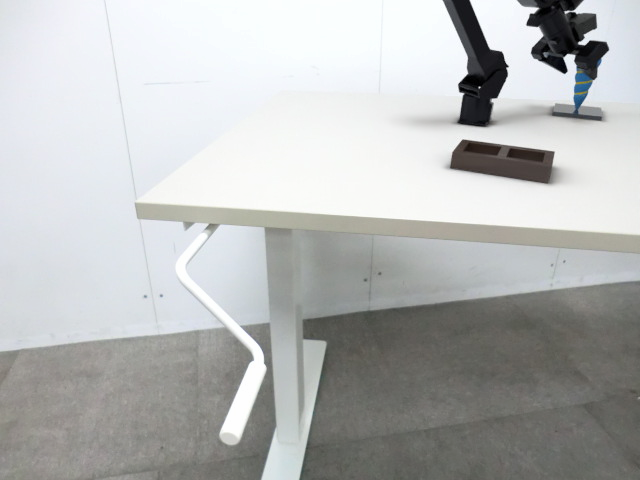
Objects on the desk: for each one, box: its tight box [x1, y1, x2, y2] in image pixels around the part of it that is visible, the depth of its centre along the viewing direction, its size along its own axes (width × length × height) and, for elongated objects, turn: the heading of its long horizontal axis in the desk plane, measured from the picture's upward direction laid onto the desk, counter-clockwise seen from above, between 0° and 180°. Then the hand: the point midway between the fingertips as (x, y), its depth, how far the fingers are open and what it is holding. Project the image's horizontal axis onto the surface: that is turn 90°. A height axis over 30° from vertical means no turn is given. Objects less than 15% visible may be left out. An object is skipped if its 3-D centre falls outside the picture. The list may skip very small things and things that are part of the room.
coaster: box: [552, 102, 603, 122], centre depth 123 cm, size 11×11×1 cm
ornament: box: [572, 57, 603, 109], centre depth 120 cm, size 5×5×15 cm
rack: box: [449, 138, 556, 184], centre depth 85 cm, size 9×16×3 cm, turn 64°
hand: (580, 75), depth 119 cm, fingers open, 9 cm apart
